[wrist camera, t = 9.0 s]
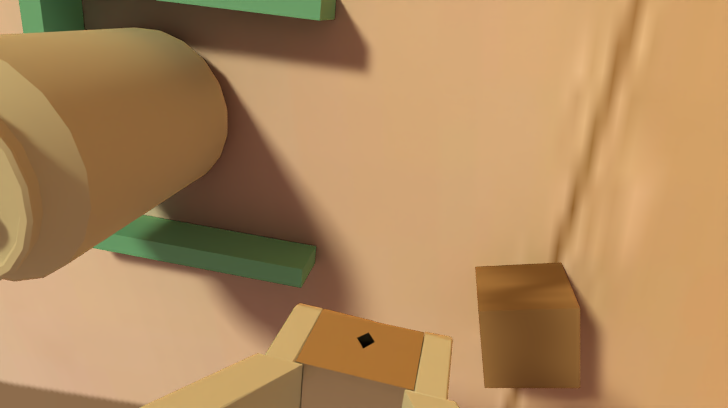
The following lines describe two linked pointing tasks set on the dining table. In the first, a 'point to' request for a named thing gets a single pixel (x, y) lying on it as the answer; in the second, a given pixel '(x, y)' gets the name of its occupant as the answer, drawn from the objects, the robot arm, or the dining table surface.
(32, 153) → the can
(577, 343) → the walnut block
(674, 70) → the dining table surface
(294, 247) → the corral
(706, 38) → the dining table surface
